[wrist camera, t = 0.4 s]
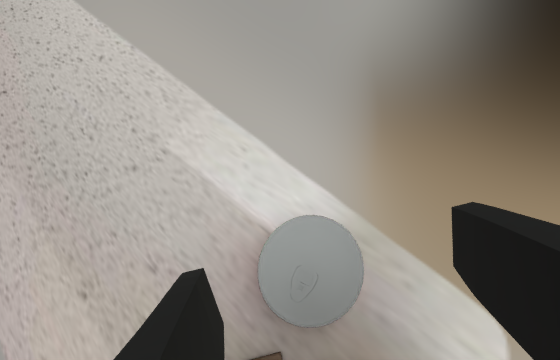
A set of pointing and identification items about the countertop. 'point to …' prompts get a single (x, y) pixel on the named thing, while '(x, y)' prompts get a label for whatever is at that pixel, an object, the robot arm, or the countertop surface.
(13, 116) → the countertop surface
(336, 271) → the canned food
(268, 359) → the gear board
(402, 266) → the countertop surface
